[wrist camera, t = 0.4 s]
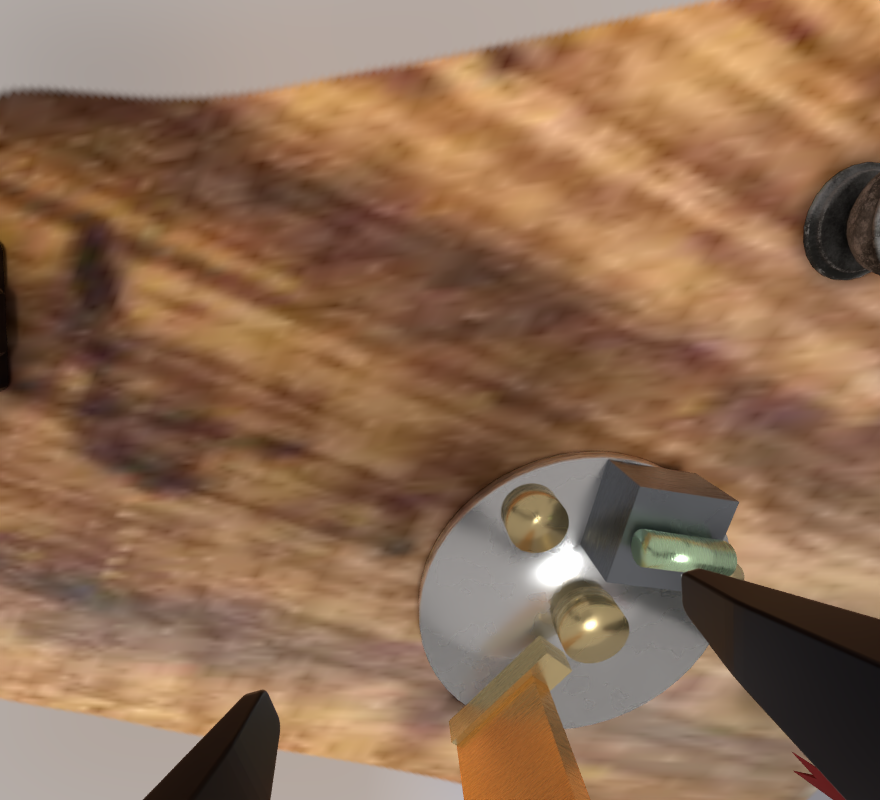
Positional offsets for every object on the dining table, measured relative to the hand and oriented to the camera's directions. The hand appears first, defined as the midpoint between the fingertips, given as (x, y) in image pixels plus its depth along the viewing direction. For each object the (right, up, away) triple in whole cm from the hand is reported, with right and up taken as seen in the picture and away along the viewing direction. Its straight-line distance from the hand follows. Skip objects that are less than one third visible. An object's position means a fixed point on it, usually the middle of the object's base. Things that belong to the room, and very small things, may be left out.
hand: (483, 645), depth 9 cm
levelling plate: (+7, -6, +16) cm, 19 cm away
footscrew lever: (+4, -10, +15) cm, 19 cm away
